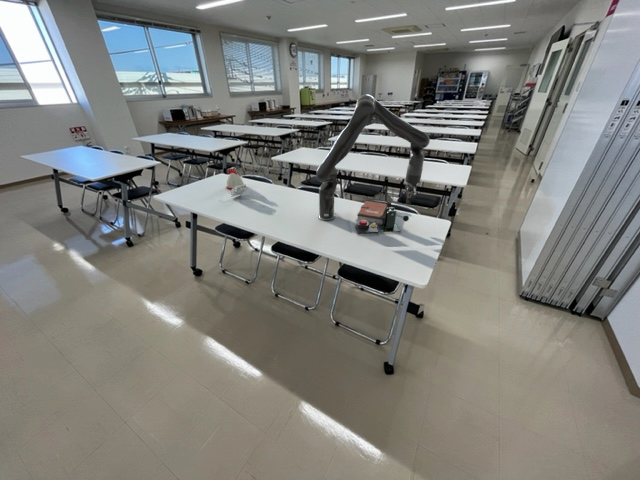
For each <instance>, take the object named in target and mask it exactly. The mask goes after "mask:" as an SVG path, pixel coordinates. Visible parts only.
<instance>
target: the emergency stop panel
mask: <svg viewBox="0 0 640 480" xmlns="http://www.w3.org/2000/svg"><path fill="white" fill-rule="evenodd" d="M371 224H372V223H370V222H369V221H367V224H366V225H361V224H360V220H358V221H357V222H356V224H355V227H356V230H357V232H358V235H366V234H367V235H368V234H379V229H378V227H377V228H371V227H370V225H371Z"/></svg>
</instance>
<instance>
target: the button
mask: <svg viewBox="0 0 640 480" xmlns="http://www.w3.org/2000/svg"><path fill="white" fill-rule="evenodd" d="M359 221H360V224H361V225H366V224H367V222H368V221H366V220H359Z"/></svg>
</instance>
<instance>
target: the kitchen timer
mask: <svg viewBox="0 0 640 480" xmlns="http://www.w3.org/2000/svg"><path fill="white" fill-rule="evenodd" d="M227 173H228V175H227V177H226V182H225V187H226V189H227V190H229V191H231V190H232V189H233V188H235V187H236V186H239V185H243V184H245V183H244V180H243V178H242V177H241V175H239V174H238V171H236V169H234V168H228V169H227Z"/></svg>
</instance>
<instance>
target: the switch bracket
mask: <svg viewBox="0 0 640 480" xmlns="http://www.w3.org/2000/svg"><path fill="white" fill-rule="evenodd" d="M389 209H391V210H390V211H388V210H389ZM387 212H388V213H387ZM397 212H398V211H397V210H396V209H395V207H392V206H391V208H386V214H385V221H384V224H381V223H377V228H379V230H380V233H392V232H397V233H398V232H401V229H400V228H399V227H398V225H397V224H396V218H397V216H396V213H397Z"/></svg>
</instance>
